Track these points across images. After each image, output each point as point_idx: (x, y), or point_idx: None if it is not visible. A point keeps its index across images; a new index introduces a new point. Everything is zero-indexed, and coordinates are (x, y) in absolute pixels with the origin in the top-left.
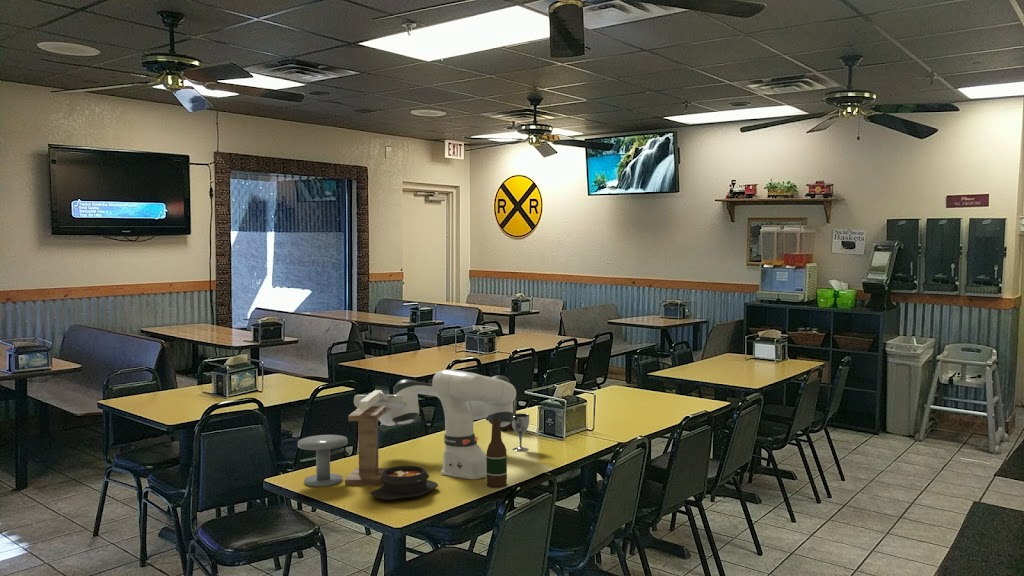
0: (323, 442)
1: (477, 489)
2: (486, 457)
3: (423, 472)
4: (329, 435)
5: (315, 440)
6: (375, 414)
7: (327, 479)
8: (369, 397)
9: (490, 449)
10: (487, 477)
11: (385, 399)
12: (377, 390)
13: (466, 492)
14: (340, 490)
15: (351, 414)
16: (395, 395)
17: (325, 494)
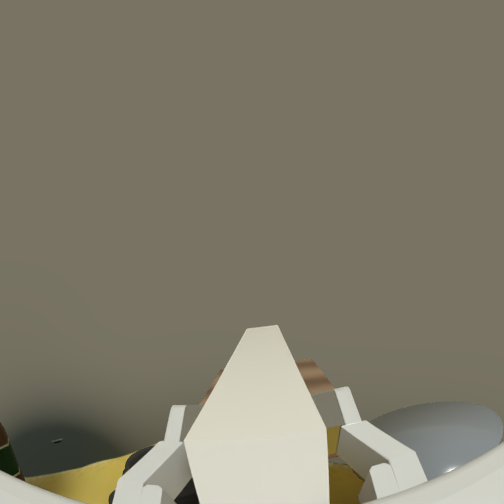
0: (405, 427)
1: (50, 489)
2: (8, 445)
3: (134, 453)
4: (462, 463)
5: (446, 425)
6: (221, 373)
7: None
8: (256, 338)
9: (1, 426)
10: (22, 477)
11: (166, 491)
12: (264, 426)
13: (72, 485)
14: (330, 501)
15: (308, 363)
16: (30, 484)
17: (348, 481)
